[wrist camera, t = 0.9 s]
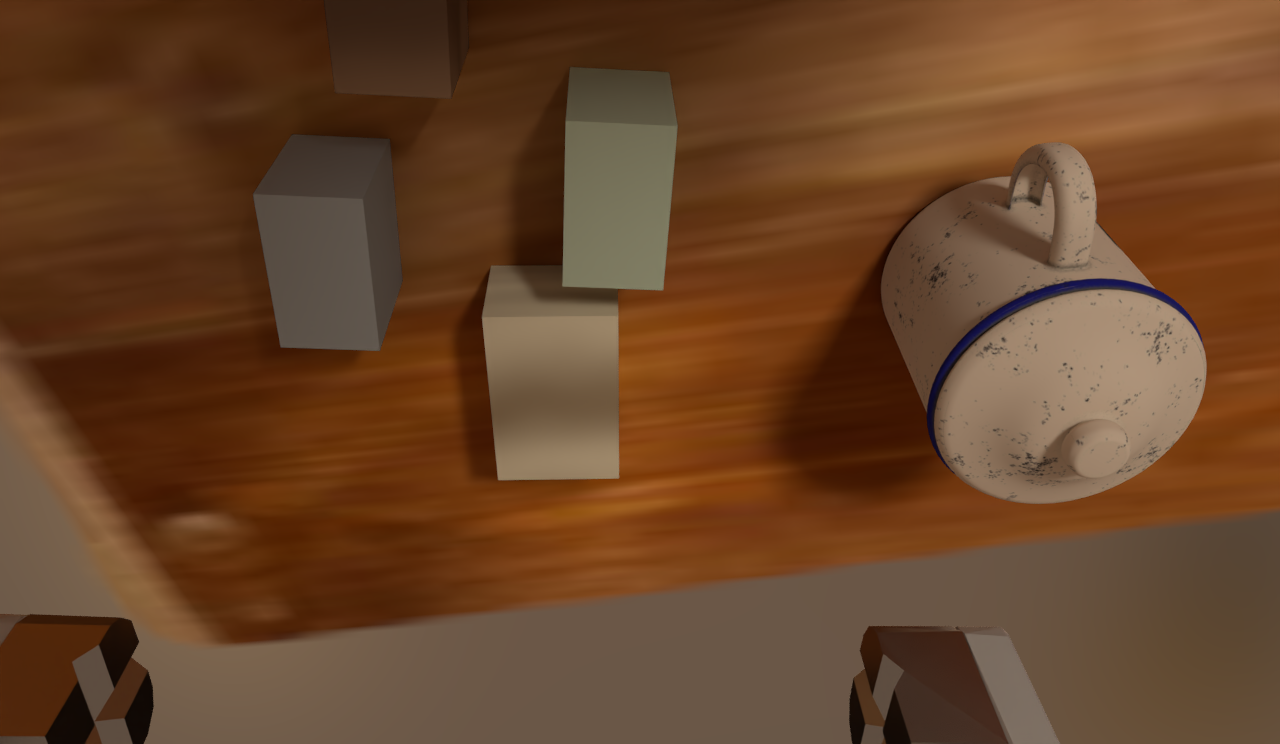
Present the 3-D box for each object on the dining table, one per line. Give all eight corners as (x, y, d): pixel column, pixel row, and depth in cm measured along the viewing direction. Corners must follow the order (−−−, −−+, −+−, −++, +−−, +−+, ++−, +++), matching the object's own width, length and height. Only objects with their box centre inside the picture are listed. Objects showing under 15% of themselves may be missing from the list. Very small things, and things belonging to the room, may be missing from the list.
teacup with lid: (1078, 352, 43) (1213, 550, 33) (867, 370, 43) (941, 572, 33) (1136, 80, 36) (1329, 233, 26) (883, 103, 36) (984, 263, 26)
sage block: (570, 66, 35) (565, 120, 31) (669, 71, 35) (677, 126, 31) (566, 219, 38) (562, 286, 34) (656, 223, 38) (662, 290, 34)
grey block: (292, 133, 36) (253, 194, 32) (390, 138, 36) (362, 198, 32) (314, 276, 39) (280, 347, 35) (402, 279, 40) (379, 350, 36)
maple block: (491, 263, 39) (481, 317, 36) (616, 262, 40) (618, 315, 36) (505, 419, 44) (498, 480, 41) (617, 418, 44) (619, 478, 41)
